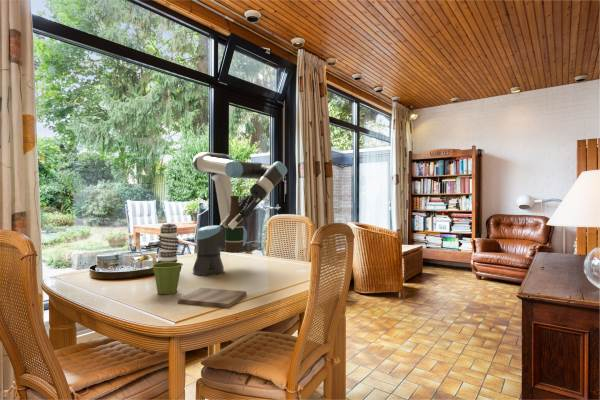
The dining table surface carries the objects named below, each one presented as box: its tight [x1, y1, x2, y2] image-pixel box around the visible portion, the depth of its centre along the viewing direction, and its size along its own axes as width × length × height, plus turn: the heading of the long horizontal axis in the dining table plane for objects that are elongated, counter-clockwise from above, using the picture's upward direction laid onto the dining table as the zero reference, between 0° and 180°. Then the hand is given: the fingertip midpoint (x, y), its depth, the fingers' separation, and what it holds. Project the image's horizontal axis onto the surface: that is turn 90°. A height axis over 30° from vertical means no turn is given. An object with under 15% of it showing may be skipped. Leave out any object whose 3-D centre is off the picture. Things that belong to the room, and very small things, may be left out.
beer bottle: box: [224, 195, 244, 254], centre depth 146 cm, size 8×8×24 cm
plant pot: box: [151, 261, 184, 296], centre depth 137 cm, size 12×12×11 cm
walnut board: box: [177, 287, 247, 309], centre depth 129 cm, size 20×16×2 cm
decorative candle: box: [158, 222, 179, 263], centre depth 169 cm, size 9×9×25 cm
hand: (226, 226), depth 144 cm, fingers closed on beer bottle, 7 cm apart
